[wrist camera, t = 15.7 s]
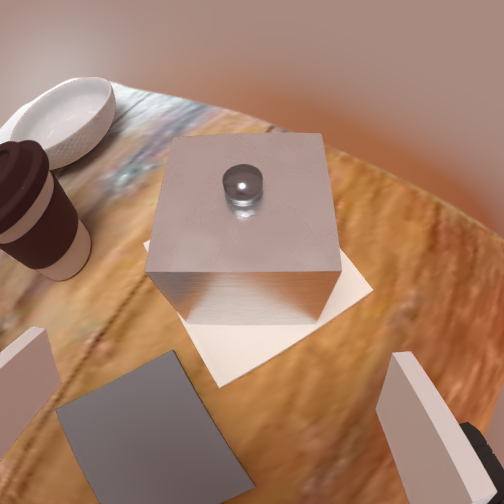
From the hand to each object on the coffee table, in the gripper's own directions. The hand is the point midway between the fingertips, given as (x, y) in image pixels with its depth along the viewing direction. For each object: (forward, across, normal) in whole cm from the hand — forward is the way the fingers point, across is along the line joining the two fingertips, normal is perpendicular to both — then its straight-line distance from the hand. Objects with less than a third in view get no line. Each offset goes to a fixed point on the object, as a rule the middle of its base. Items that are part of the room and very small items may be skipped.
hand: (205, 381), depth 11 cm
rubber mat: (+8, -8, -16) cm, 19 cm away
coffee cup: (+22, -20, -2) cm, 30 cm away
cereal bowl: (+35, -27, +11) cm, 45 cm away
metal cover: (+19, +1, -2) cm, 20 cm away
